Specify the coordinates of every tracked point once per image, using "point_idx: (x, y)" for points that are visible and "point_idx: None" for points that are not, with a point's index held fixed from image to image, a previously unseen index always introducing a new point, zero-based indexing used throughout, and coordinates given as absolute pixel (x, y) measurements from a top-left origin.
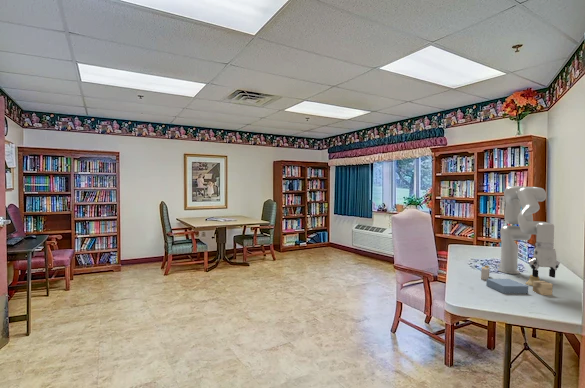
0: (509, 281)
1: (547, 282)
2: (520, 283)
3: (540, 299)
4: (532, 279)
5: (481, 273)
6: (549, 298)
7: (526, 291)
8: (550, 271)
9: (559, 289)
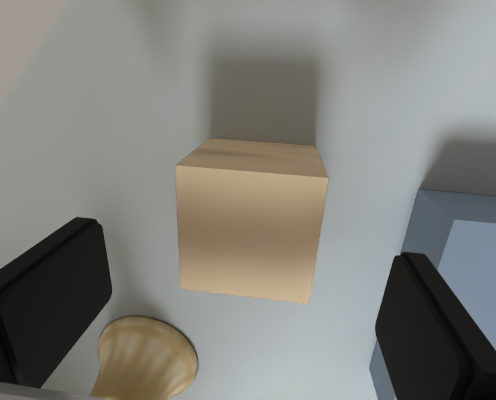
0: None
1: (184, 233)
2: None
3: (481, 7)
4: (156, 391)
5: None
6: (335, 39)
7: (447, 198)
8: (52, 342)
9: None
